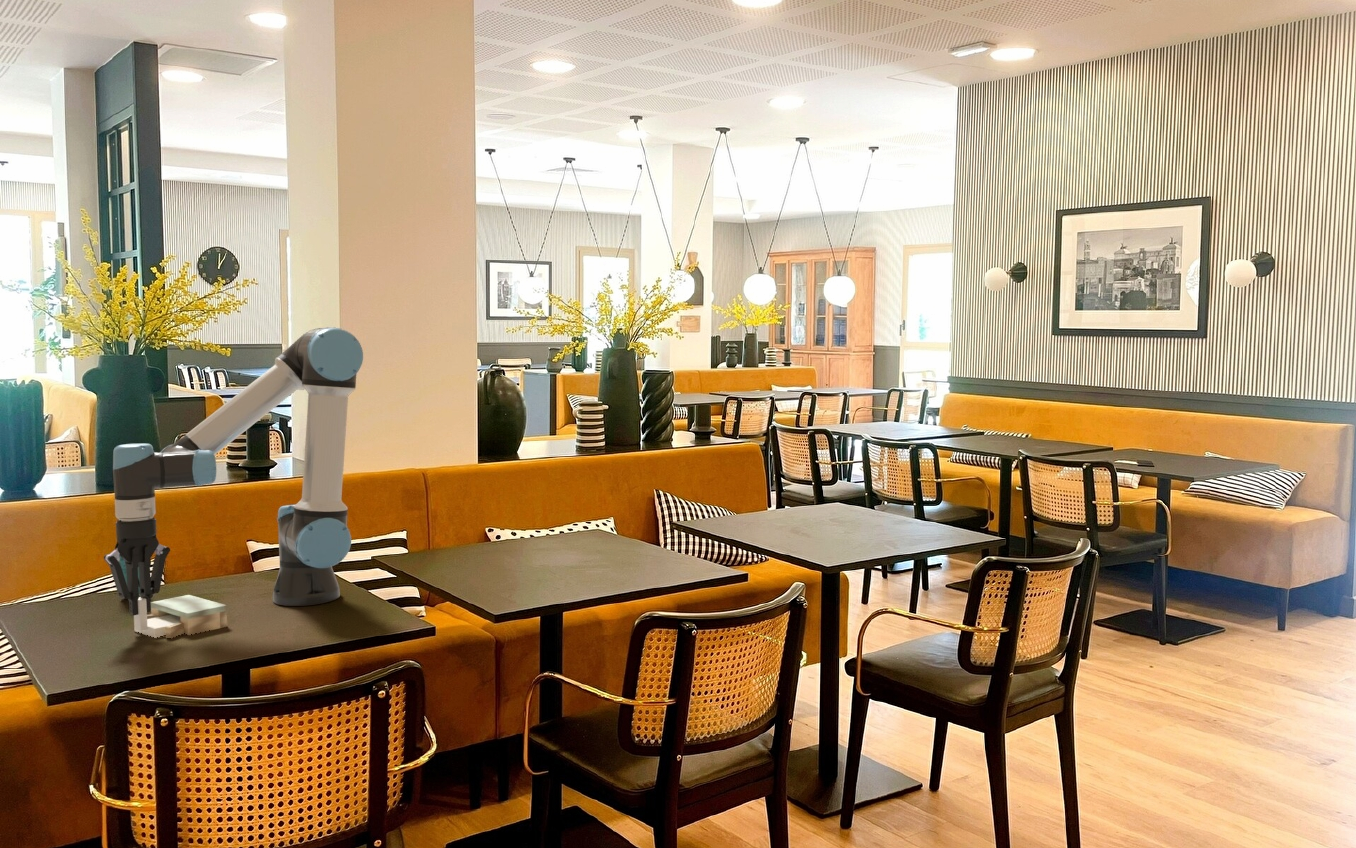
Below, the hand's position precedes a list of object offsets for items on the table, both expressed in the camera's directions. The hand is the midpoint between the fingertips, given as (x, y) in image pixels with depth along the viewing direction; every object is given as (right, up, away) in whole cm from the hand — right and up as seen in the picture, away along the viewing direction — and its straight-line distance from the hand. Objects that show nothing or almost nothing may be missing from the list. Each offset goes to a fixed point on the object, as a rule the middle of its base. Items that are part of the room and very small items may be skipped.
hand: (141, 629), depth 223 cm
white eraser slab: (+4, -1, +5) cm, 7 cm away
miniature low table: (+5, -1, +7) cm, 8 cm away
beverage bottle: (-18, +1, +33) cm, 38 cm away
